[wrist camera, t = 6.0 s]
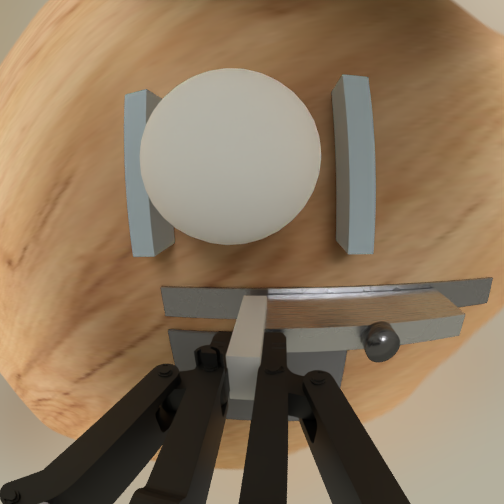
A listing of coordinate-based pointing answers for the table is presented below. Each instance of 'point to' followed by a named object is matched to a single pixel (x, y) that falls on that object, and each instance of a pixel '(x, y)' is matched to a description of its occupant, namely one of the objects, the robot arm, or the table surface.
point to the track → (229, 299)
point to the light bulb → (230, 156)
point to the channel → (347, 171)
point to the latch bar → (362, 320)
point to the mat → (296, 363)
